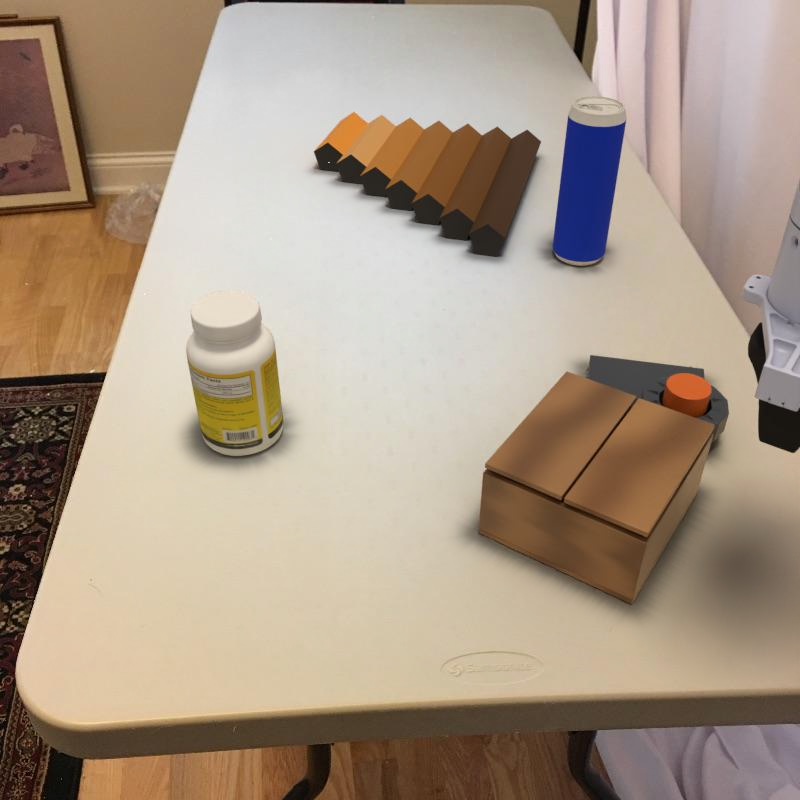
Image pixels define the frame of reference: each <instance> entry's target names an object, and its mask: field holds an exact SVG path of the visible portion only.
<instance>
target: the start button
mask: <svg viewBox="0 0 800 800" xmlns="http://www.w3.org/2000/svg"><path fill="white" fill-rule="evenodd" d="M710 385H711V384H710V383H709V382H708V381H707V380H706V378H705V379H703V378H701V377H699V376H697V375H693V374H688V373H679V374H675V375H672V376H671V377H669V378H668V380H667V382H666V386H665V390H664V395H663V399H662V403H663V406H664V407H666V408H669V409H672V410H675V411H677V412H680V413H683V414H686V415H689V416H692V417H700V416H702V415H703V414H704V413H705V412H706V410H707V407H708V403H709V399H710V396H711V392H712V388H711V386H712V385H711V386H710Z"/></svg>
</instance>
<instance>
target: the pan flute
mask: <svg viewBox="0 0 800 800" xmlns="http://www.w3.org/2000/svg"><path fill="white" fill-rule="evenodd" d="M541 143H542V141H541V140H540V139H539V138H538V137H537V136H536V135H534V134H533V133H532V132H531V131H530V130H528V129H525V130H524V131H522V132H520V133H519V134H516V135H515V136H513V137H510V135H508V134H507V133H506V132H505V131H503V130H502V129H501V128H500V127H499V126H496V127H494V128H492V129H491V130H489V131H486V132H485V133H484V134H481V133H480V132H479V131H478V130H477V129H475V128H474V127H473V126H472V125H471V124H469V123H466V124H464V125H462V126H461V127H460V128H458V129H456V130H454V131H452V130H451V128H449V127H448V126H446V125H445V124H444V123H443V122H442V121H441V120H437V121H435V122H434V123H432V124H431V125H429V126H427V127H426V128H424V127H422V126H421V124H419V123H418V122H416V121H415V120H414V119H413V118H412V117H409V118H407V119H406V120H404V121H402V122H400V123H399V124H397V125H395V123H393V122H391V120H389V119H388V118H387V117H386V116H385V115H383V114H381V115H379V116H377V117H376V118H374V119H372V120H371V121H370V122H367V121H366V120H365V119H364V118H362V117H361V116H360V115H359V114H358V113H356V112H355V111H353V112H350V114H348V115H346V116H345V117H344V118H342V119H340V120H339V122H338V123H337V124H336V125H335V126H334V128H332V130H331V131H330V132H329V133H328V135H327V136H326V137H325V138H324V139H323V140H322V141H321V143H320V144H319V145H317V147H316V148H315V149H314V151H313V153H314V154H313V155H314V156H315V159H316V162H317V165H318V168H319V170H322V171H331V172H338V173H339V176H340V179H341V180H342V182H344V183H352V184H359V185H361V184H362V186H363V188H364V193H365V194H366V195H367V196H368V195H369V196H374V197H384V198H386V197H387V199H388V200H387V201H388V202H389V205H390V208H391V209H394V210H395V209H396V210H403V211H412V210H413V212H414V216H415V220H416V222H417V223H418V224H426V225H427V224H428V225H435V226H439V224H441V228H442V231H443V234H444V235H443V236H444V238H445V239H446V238H447V239H452V240H461V241H467V240H468V238H470V241H471V246H472V249H473V252H474V254H475V255H482V256H490V257H497V256H498V254H499V252H500V250H501V248H502V246H503V244H504V241H505V239H506V237H507V234H508V232H509V230H510V227H511V223H512V221H513V218H514V216H515V213H516V210H517V209H518V208H517V207H518V205H519V203H520V200H521V197H522V194H523V191H524V190H525V189H524V188H525V187H526V184H527V182H528V178H529V175H530V174H531V170H532V168H533V165H534V162H535V160H536V157H537V154H538V151H539V150H540V146H541ZM328 162H330V163H328Z"/></svg>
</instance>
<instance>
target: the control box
mask: <svg viewBox="0 0 800 800" xmlns="http://www.w3.org/2000/svg"><path fill="white" fill-rule="evenodd" d="M679 373H688V374H693V375H697V376H699V377H701V378H703V379H705V380H706V377H705V369H704V368H700V367H694V366H693V367H692V366H683V365H675V364H667V363H658V362H653V361H652V362H651V361H645V360H644V361H643V360H634V359H626V358H619V357H611V356H602V355H596V354H595V355H594V354H590V356H589V361H588V369H587V377H586V378H587V379H590V380H592V381H595V382H598V383H601V384H604V385H606V386H609V387H612V388H615V389H617V390H620V391H623V392H626V393H629V394H631V395H634V396H637V398H636V401H637V400H638V399H639V398H640V399H643V400H646V401H649V402H652V403H654V404H657V405H660V406H663V403H662V399H663V395H664V390H665V386H666V382H667V380H668V378H669V377H671V376H672V375H675V374H679ZM710 386H711V388H712V392H711V396H710V399H709V403H708V407H707V410H706V412H705V413H704V414H703V415H702V416H700V417H695V418H697V419H700V420H703V421H706V422H709V423H712V424H714V425H715V426H714V429H713V431H712V432H711V433H712V434H713V438H712V442H711V443H713V442H715V441H716V440H717V439H718V437H720V436H721V435H722V433H724V432H725V429H726V425H727V422H728V419H729V415H730V410H729V401H728V398H726V397H725V395H723V394H722V392H721V391H720V390H719V389H717V388H716V387H715V386H714V385H711V384H710ZM636 401H635V403H636ZM635 403H634V404H635ZM634 404H633V405H634ZM663 407H664V406H663Z"/></svg>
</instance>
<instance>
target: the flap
mask: <svg viewBox="0 0 800 800" xmlns="http://www.w3.org/2000/svg"><path fill="white" fill-rule="evenodd" d="M714 426H715V425H714V424H712V423H709V422H706V421H703V420H700V419H697V418H695V417H692V416H689V415H686V414H683V413H680V412H677V411H675V410H672V409H669V408H666V407H663V406H660V405H657V404H654V403H652V402H649V401H646V400H643V399H640V398H639V399H638V400H637V401H636V403H635V404H634V405H633V407H632V408H631V409H630V411H629V412H628V413H627V415H626V416H625V417H624V419H623V420H622V422H621V423H620V424H619V426H618V427H617V428H616V430H615V431H614V432H613V434H612V435H611V436H610V438H609V439H608V440H607V442H606V443H605V444H604V446H603V447H602V448H601V450H600V451H599V452H598V454H597V455H596V456H595V458H594V459H593V460H592V462H591V463H590V464H589V466H588V467H587V468H586V470H585V471H584V472H583V474H582V475H581V476H580V478H579V479H578V480H577V482H576V483H575V484H574V486H573V487H572V488H571V490H570V491H569V492H568V494H567V495H566V496H565V498H564V503H566V504H568V505H571V506H573V507H576V508H578V509H580V510H583V511H585V512H588V513H590V514H592V515H595V516H597V517H600V518H602V519H604V520H607V521H609V522H611V523H614V524H616V525H619V526H621V527H623V528H626V529H628V530H631V531H633V532H635V533H638V534H640V535H642V536H645V537H648V535H649V534H650V532H651V530H652V529H653V527H654V525H655V524H656V522H657V520H658V519H659V517H660V516H661V514H662V512H663V511H664V509H665V507H666V506H667V504H668V503H669V501H670V499H671V498H672V496H673V494H674V493H675V491H676V490H677V488H678V486H679V485H680V483H681V481H682V480H683V478H684V476H685V475H686V473H687V472H688V470H689V468H690V467H691V465H692V463H693V462H694V460H695V459H696V457H697V455H698V454H699V452H700V450H701V449H702V447H703V446H704V444H705V442H706V441H707V439H708V437H709V436H710V434H711V432H712V431H713V429H714Z"/></svg>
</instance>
